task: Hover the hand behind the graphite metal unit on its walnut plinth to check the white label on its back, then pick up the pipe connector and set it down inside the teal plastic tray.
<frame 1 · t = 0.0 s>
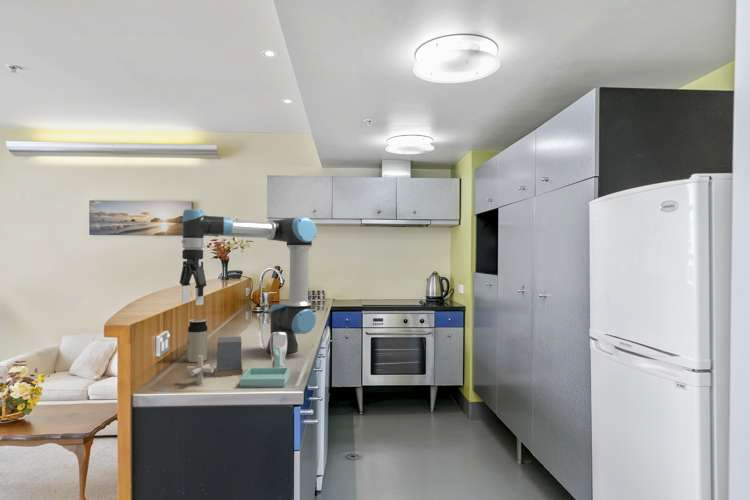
hand: (192, 303, 171), 28 cm above the countertop, tool pointing down, fingers open, 13 cm apart
mounted unit: (229, 371, 177), on the countertop
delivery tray: (266, 381, 164), on the countertop
beer glass: (278, 370, 180), on the countertop
travel mug: (197, 360, 195), on the countertop
pipe connector: (200, 383, 161), on the countertop
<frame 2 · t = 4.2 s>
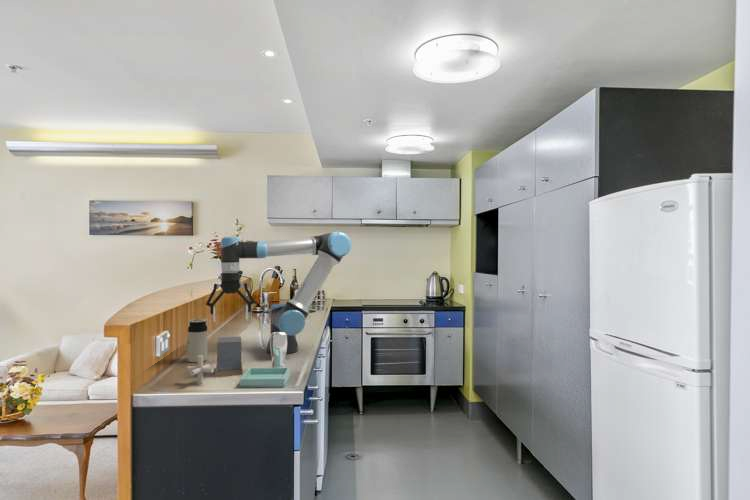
hand: (230, 320, 192), 18 cm above the countertop, tool pointing down, fingers open, 13 cm apart
nothing on the countertop moved.
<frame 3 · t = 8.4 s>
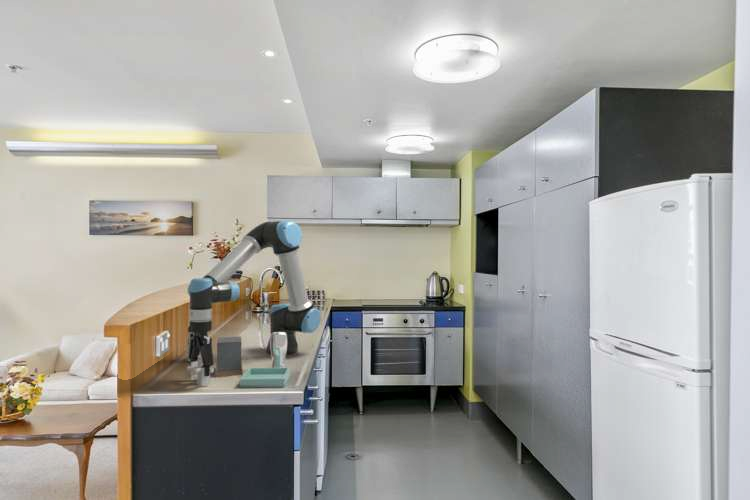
hand: (200, 381, 161), 0 cm above the countertop, tool pointing down, fingers closed on pipe connector, 9 cm apart
pipe connector: (200, 383, 161), on the countertop, touching gripper
everything else where it was.
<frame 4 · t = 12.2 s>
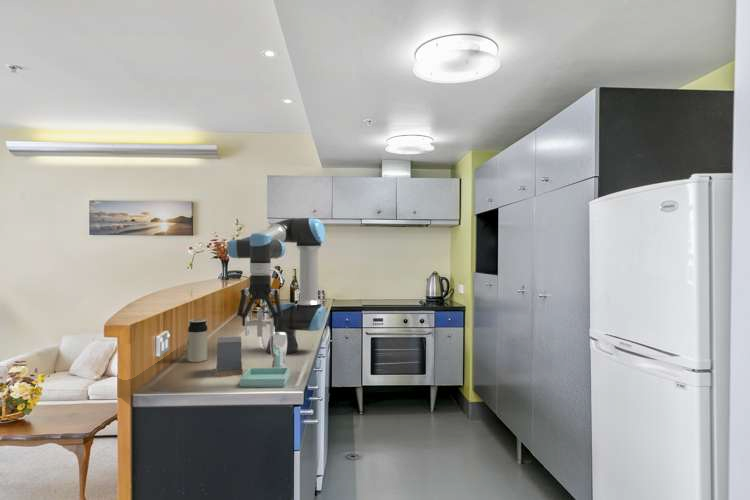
hand: (259, 334, 164), 17 cm above the countertop, tool pointing down, fingers closed on pipe connector, 9 cm apart
pipe connector: (259, 336, 164), point 17 cm above the countertop, touching gripper
everything else where it was.
when the fingers open (4 cm above the countertop, at t = 15.5 s): pipe connector drops 3 cm, resting on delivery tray.
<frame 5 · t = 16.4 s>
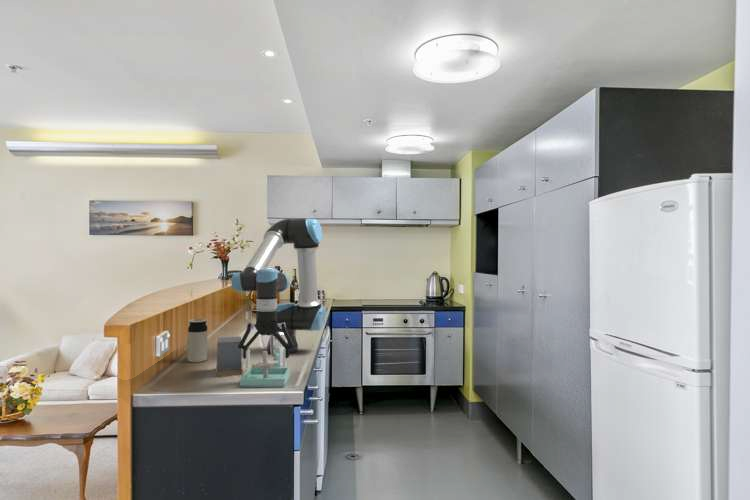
hand: (266, 367, 164), 5 cm above the countertop, tool pointing down, fingers open, 13 cm apart
pipe connector: (265, 379, 164), point 1 cm above the countertop, touching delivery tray
everything else where it was.
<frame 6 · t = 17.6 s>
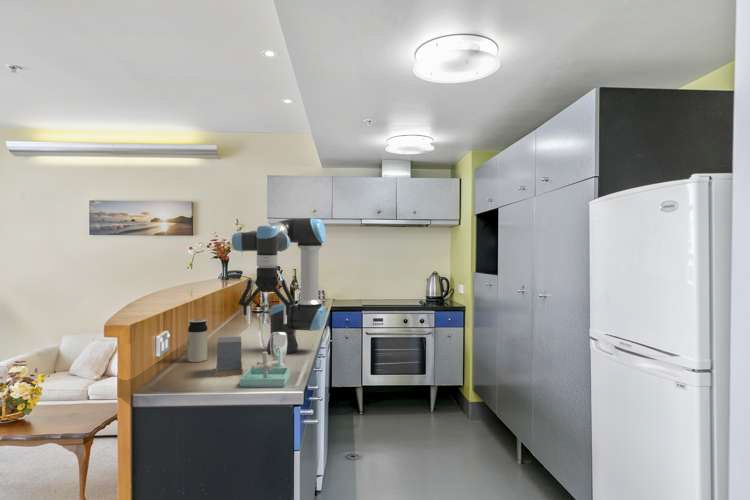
hand: (266, 323, 164), 21 cm above the countertop, tool pointing down, fingers open, 13 cm apart
nothing on the countertop moved.
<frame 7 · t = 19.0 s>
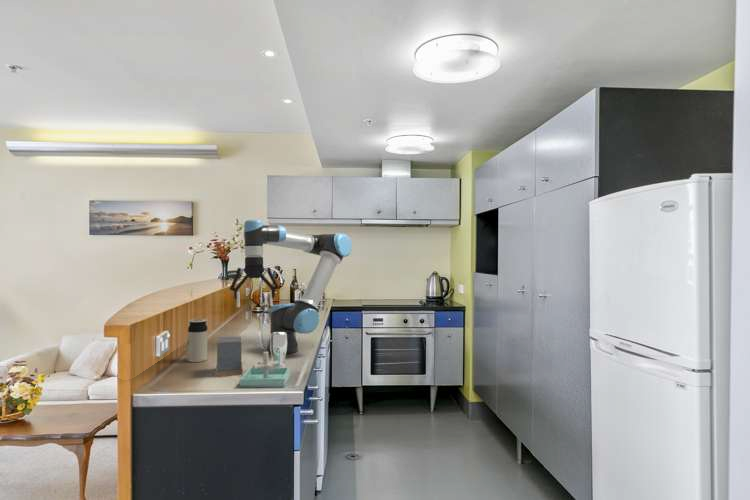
hand: (255, 306, 187), 25 cm above the countertop, tool pointing down, fingers open, 13 cm apart
nothing on the countertop moved.
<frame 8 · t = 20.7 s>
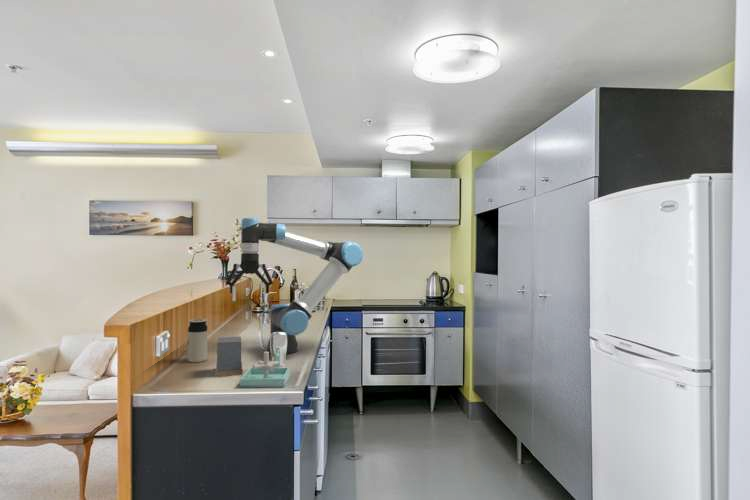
hand: (249, 300, 194), 27 cm above the countertop, tool pointing down, fingers open, 13 cm apart
nothing on the countertop moved.
at the end: pipe connector inside the target area on the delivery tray (0.1 cm from its centre), point 0.6 cm above the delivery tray's base; pipe connector tilted 0°; the gripper is holding nothing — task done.
